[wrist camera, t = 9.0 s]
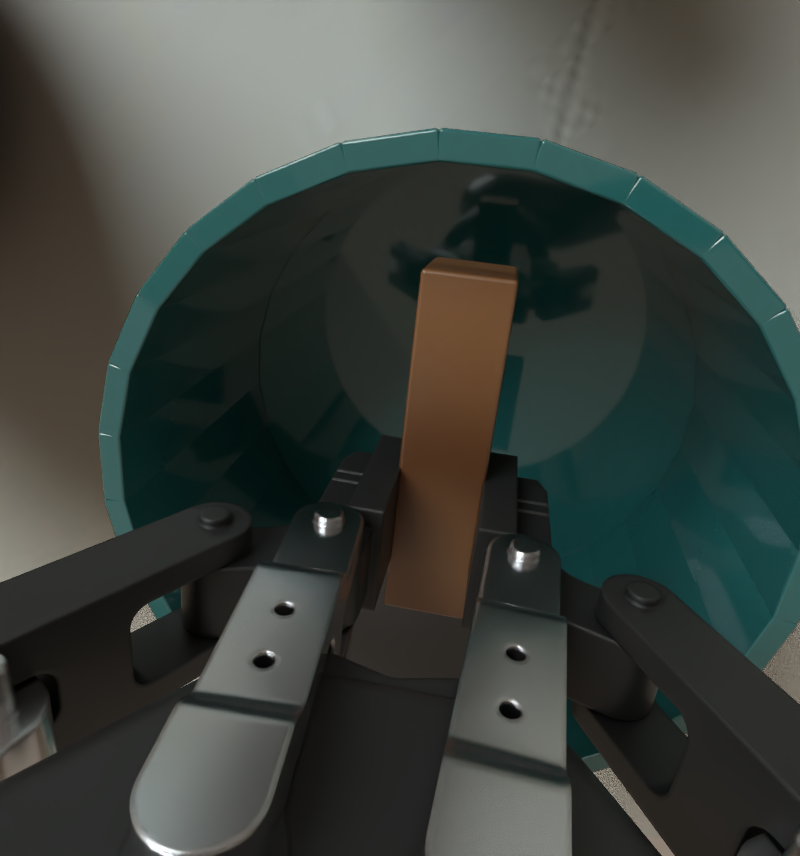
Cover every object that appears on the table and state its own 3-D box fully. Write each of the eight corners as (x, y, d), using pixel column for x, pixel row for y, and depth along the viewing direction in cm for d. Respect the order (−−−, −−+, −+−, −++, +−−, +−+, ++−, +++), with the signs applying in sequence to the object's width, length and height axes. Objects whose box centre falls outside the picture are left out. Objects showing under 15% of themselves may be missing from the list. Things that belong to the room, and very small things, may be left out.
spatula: (367, 247, 14) (340, 258, 12) (589, 275, 14) (604, 291, 12) (329, 695, 19) (305, 763, 17) (497, 730, 18) (495, 804, 16)
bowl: (254, 114, 23) (64, 88, 13) (774, 169, 21) (988, 184, 11) (250, 535, 30) (123, 716, 20) (641, 605, 28) (705, 844, 18)
